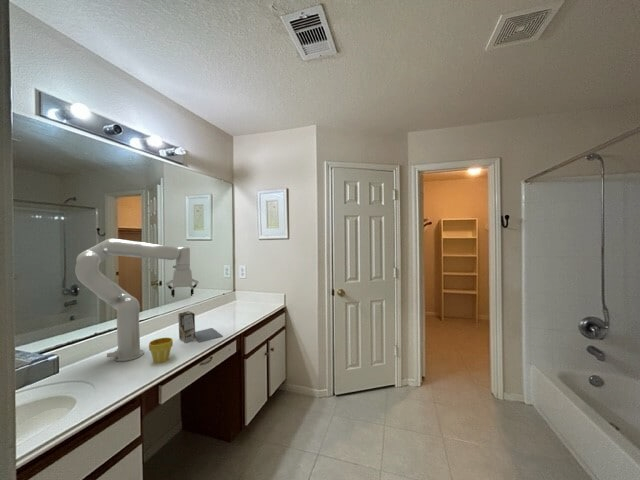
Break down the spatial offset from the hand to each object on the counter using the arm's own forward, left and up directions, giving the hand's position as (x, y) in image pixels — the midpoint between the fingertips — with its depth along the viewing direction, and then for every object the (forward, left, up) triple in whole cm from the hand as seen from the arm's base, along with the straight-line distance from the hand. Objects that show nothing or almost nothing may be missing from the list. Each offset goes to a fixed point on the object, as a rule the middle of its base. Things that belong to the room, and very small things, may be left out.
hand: (182, 296), depth 160 cm
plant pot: (-15, -20, -27) cm, 37 cm away
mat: (+13, +1, -27) cm, 30 cm away
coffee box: (+2, +1, -27) cm, 27 cm away
